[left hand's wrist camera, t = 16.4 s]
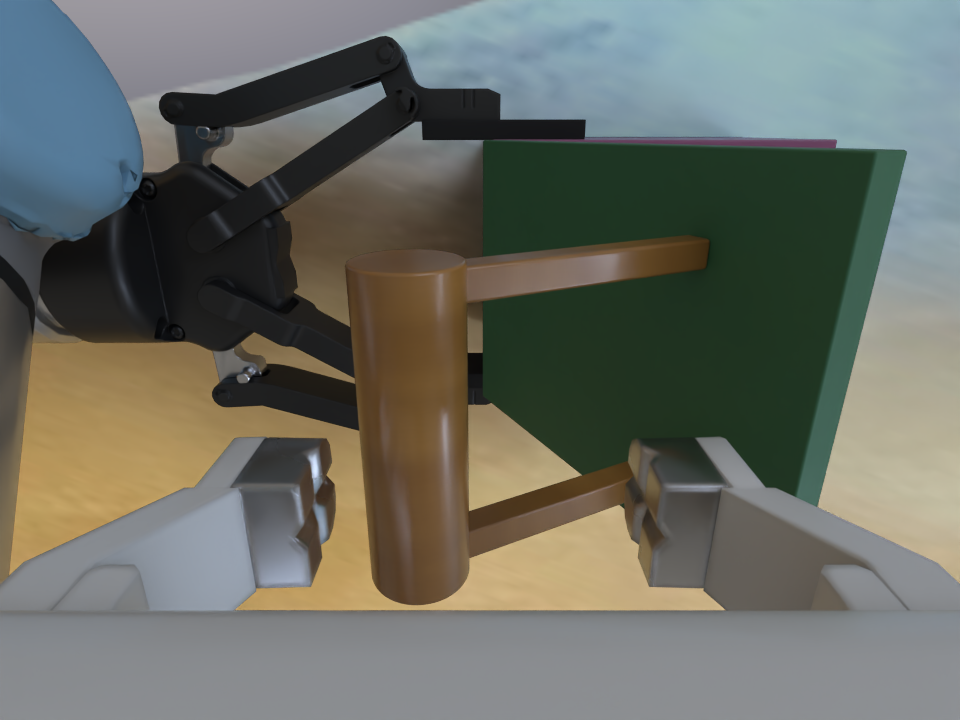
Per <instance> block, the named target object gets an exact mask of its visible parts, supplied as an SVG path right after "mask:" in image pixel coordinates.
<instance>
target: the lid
mask: <svg viewBox="0 0 960 720" xmlns="http://www.w3.org/2000/svg"><path fill="white" fill-rule="evenodd" d="M906 155H907V151H905V150H885V149H845V148H805V147H765V146H724V145H684V144H644V143H604V142H564V141H524V140H484V141H483V257H477V258H468V259H465V258H464V257H462V256H460V255H457V254H454V253H451V252H446V251H438V250H426V249H399V250H385V251H377V252H371V253H366V254H362V255H359V256H356V257H353V258H351V259H349V260H348V261H347V262H346V265H345V270H346V282H347V293H348V305H349V316H350V328H351V340H352V351H353V363H354V374H355V386H356V397H357V409H358V421H359V432H360V444H361V455H362V467H363V478H364V490H365V502H366V513H367V525H368V536H369V548H370V560H371V571H372V579H373V582H374V584H375V586H376V587H377V589H378V590H379V591H380V592H381V593H382V594H383V595H384V596H385V597H387V598H389V599H391V600H393V601H395V602H398V603H402V604H407V605H425V604H431V603H435V602H438V601H441V600H443V599H445V598H447V597H449V596H451V595H452V594H454V593H455V592H456V591H457V590H458V589H460V588H461V586H462V585H463V584H464V582H465V580H466V579H467V576H468V574H469V558H471V557H474V556H477V555H479V554H482V553H485V552H488V551H491V550H493V549H496V548H499V547H502V546H505V545H508V544H510V543H513V542H516V541H519V540H522V539H524V538H527V537H530V536H533V535H536V534H538V533H541V532H544V531H547V530H550V529H552V528H555V527H558V526H561V525H564V524H566V523H569V522H572V521H575V520H578V519H580V518H583V517H586V516H589V515H592V514H594V513H597V512H600V511H603V510H606V509H608V508H611V507H614V506H617V505H620V506H622V507H623V508H624V509H625V507H624V498H625V485H626V483H627V482H628V481H629V480H630V479H631V478H632V477H633V476H634V475H633V472H632V470H631V468H630V465H629V463H628V457H629V449H630V445H631V442H632V440H633V439H640V438H682V437H694V438H699V437H722V438H725V439H726V440H727V441H728V442H729V443H730V445H731V446H732V447H733V448H734V449H735V451H736V452H737V453H738V454H739V456H740V457H741V458H742V459H743V460H744V462H745V463H746V464H747V465H748V467H749V468H750V469H751V470H752V471H753V473H754V474H755V475H756V476H757V478H758V479H759V480H760V481H761V482H762V484H763V485H764V486H765V487H766V488H777V489H779V490H781V491H783V492H786V493H788V494H790V495H792V496H794V497H796V498H799V499H801V500H803V501H805V502H807V503H809V504H811V505H814V506H816V507H817V506H818V502H819V498H820V494H821V490H822V486H823V482H824V478H825V474H826V470H827V466H828V462H829V458H830V454H831V450H832V446H833V443H834V439H835V435H836V431H837V427H838V423H839V419H840V415H841V411H842V407H843V403H844V399H845V395H846V391H847V387H848V383H849V379H850V375H851V372H852V368H853V364H854V360H855V356H856V352H857V348H858V344H859V340H860V336H861V332H862V328H863V324H864V320H865V316H866V312H867V308H868V305H869V301H870V297H871V293H872V289H873V285H874V281H875V277H876V273H877V269H878V265H879V261H880V257H881V253H882V249H883V245H884V241H885V237H886V234H887V230H888V226H889V222H890V218H891V214H892V210H893V206H894V202H895V198H896V194H897V190H898V186H899V182H900V178H901V174H902V170H903V167H904V163H905V159H906ZM481 301H483V396H484V397H485V398H486V399H488V400H489V401H490V402H491V403H493V404H494V405H495V406H496V407H498V408H499V409H500V410H501V411H503V412H504V413H505V414H506V415H508V416H509V417H510V418H511V419H513V420H514V421H515V422H516V423H518V424H519V425H520V426H521V427H523V428H524V429H525V430H526V431H528V432H529V433H530V434H531V435H533V436H534V437H535V438H536V439H538V440H539V441H540V442H541V443H543V444H544V445H545V446H546V447H548V448H549V449H550V450H551V451H553V452H554V453H555V454H556V455H558V456H559V457H560V458H561V459H563V460H564V461H565V462H566V463H568V464H569V465H570V466H571V467H573V468H574V469H575V470H576V471H578V472H579V473H580V474H581V475H582V476H579V477H576V478H573V479H569V480H566V481H563V482H560V483H557V484H554V485H551V486H547V487H544V488H541V489H538V490H535V491H532V492H528V493H525V494H522V495H519V496H516V497H513V498H510V499H506V500H503V501H500V502H497V503H494V504H491V505H488V506H484V507H481V508H478V509H475V510H472V511H469V465H468V352H467V303H474V302H481Z"/></svg>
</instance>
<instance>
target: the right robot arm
mask: <svg viewBox="0 0 960 720" xmlns="http://www.w3.org/2000/svg"><path fill="white" fill-rule="evenodd" d="M379 82H381V83H382V85H383V88H384V90H385V93H386V96H387V97H385V98H384V99H382V100H381V101H379V102H378V103H376V104H375V105H373V106H372V107H371V108H369V109H368V110H366V111H365V112H363V113H362V114H360V115H359V116H357V117H356V118H354V119H353V120H351V121H350V122H348V123H347V124H345V125H344V126H342V127H341V128H339V129H338V130H336V131H335V132H333V133H332V134H331V135H329V136H328V137H326V138H325V139H323V140H322V141H320V142H319V143H317V144H316V145H314V146H313V147H311V148H310V149H308V150H307V151H305V152H304V153H302V154H301V155H299V156H298V157H296V158H295V159H293V160H292V161H291V162H289V163H288V164H286V165H285V166H283V167H282V168H280V169H279V170H277V171H276V172H274V173H273V174H271V175H269V176H267V177H265V178H263V179H262V180H260V181H258V182H257V183H255V184H254V185H252V186H251V187H247V186H246V185H244V184H243V183H241V182H240V181H238V180H237V179H235V178H234V177H232V176H231V175H230V174H228V173H227V172H225V171H224V170H222V169H221V168H219V167H218V166H216V165H215V164H213V163H212V155H213V153H214V151H215V150H216V149H218V148H220V147H224V146H227V145H229V144H230V143H231V142H232V140H233V136H234V131H233V127H245V126H252V125H255V124H259V123H262V122H265V121H268V120H271V119H274V118H277V117H280V116H283V115H286V114H289V113H292V112H294V111H297V110H300V109H303V108H306V107H309V106H312V105H315V104H318V103H321V102H324V101H326V100H329V99H332V98H335V97H338V96H341V95H344V94H347V93H350V92H353V91H356V90H358V89H361V88H364V87H367V86H370V85H373V84H376V83H379ZM159 109H160V112H161V115H162V116H163V118H164V119H165V120H166V121H168V122H169V123H170V124H174V127H175V135H176V142H177V150H178V158H179V163H177V164H175V165H174V166H172V167H171V168H169V169H168V170H166V171H164V172H158V173H143V163H144V162H143V150H142V145H141V140H140V135H139V132H138V129H137V126H136V123H135V120H134V118H133V115H132V112H131V109H130V107H129V105H128V103H127V101H126V99H125V97H124V95H123V93H122V91H121V89H120V88H119V86H118V84H117V82H116V80H115V79H114V77H113V76H112V74H111V72H110V71H109V69H108V68H107V66H106V65H105V63H104V62H103V60H102V59H101V57H100V56H99V54H98V53H97V52H96V50H95V49H94V48H93V46H92V45H91V43H90V42H89V41H88V39H87V38H86V37H85V36H84V35H83V34H82V32H81V31H80V30H79V29H78V28H77V26H76V25H75V24H74V23H73V22H72V21H71V20H70V18H69V17H68V16H67V15H66V14H64V13H63V12H62V11H61V10H60V9H59V8H58V6H57V5H56V4H55V3H54V2H53V1H52V0H0V584H1V583H2V582H3V581H4V580H5V579H6V578H7V577H8V576H9V571H10V561H11V551H12V541H13V531H14V521H15V511H16V501H17V491H18V481H19V471H20V461H21V451H22V441H23V431H24V421H25V411H26V401H27V391H28V381H29V371H30V361H31V351H32V343H77V342H80V341H83V340H84V341H87V342H93V343H164V342H190V343H194V344H197V345H200V346H202V347H204V348H206V349H208V350H211V351H213V354H214V359H215V363H216V367H217V371H218V376H219V380H220V383H219V384H218V385H217V386H216V387H215V388H214V389H213V391H212V397H213V399H214V401H215V402H216V403H217V404H218V405H220V406H222V407H242V406H262V405H263V406H266V407H270V408H274V409H278V410H282V411H286V412H289V413H293V414H297V415H301V416H305V417H309V418H313V419H316V420H320V421H324V422H328V423H332V424H336V425H339V426H343V427H347V428H351V429H355V430H359V421H358V409H357V397H356V386H355V384H354V383H350V382H346V381H342V380H339V379H335V378H331V377H328V376H324V375H320V374H317V373H313V372H309V371H305V370H302V369H298V368H294V367H290V366H286V365H279V364H266V360H265V358H264V357H263V356H261V355H253V354H250V353H247V352H246V351H245V350H244V349H243V348H242V346H241V344H240V343H241V342H242V341H243V340H245V339H246V338H247V337H249V336H250V335H251V334H252V333H254V332H256V333H257V334H259V335H261V336H263V337H265V338H267V339H269V340H271V341H273V342H275V343H277V344H279V345H282V346H286V347H287V346H292V347H295V348H297V349H299V350H301V351H303V352H305V353H307V354H309V355H311V356H313V357H315V358H317V359H318V360H320V361H322V362H324V363H326V364H328V365H330V366H332V367H334V368H336V369H338V370H340V371H342V372H344V373H346V374H347V375H349V376H351V377H353V378H355V374H354V363H353V351H352V340H351V328H350V327H349V326H347V325H345V324H343V323H341V322H339V321H338V320H336V319H334V318H332V317H330V316H328V315H326V314H324V313H323V312H321V311H319V310H318V309H317V308H316V307H315V305H314V304H313V303H311V302H310V301H308V300H306V299H304V298H303V297H301V296H299V295H297V294H295V293H294V290H295V289H296V288H297V287H298V285H297V277H296V271H295V268H294V265H293V263H292V260H291V258H290V248H291V241H292V234H291V226H290V221H286V220H285V218H284V216H283V214H282V213H281V212H280V211H282V210H283V209H285V208H286V207H288V206H289V205H291V204H292V203H294V202H295V201H297V200H298V199H300V198H301V197H303V196H304V195H305V194H306V193H308V192H309V191H311V190H312V189H314V188H315V187H317V186H318V185H320V184H322V183H323V182H325V181H326V180H328V179H329V178H331V177H332V176H334V175H335V174H337V173H338V172H340V171H341V170H343V169H344V168H346V167H347V166H349V165H350V164H352V163H353V162H355V161H356V160H358V159H359V158H361V157H363V156H364V155H366V154H367V153H369V152H370V151H372V150H373V149H375V148H376V147H378V146H379V145H381V144H382V143H384V142H385V141H387V140H388V139H390V138H391V137H393V136H394V135H396V134H397V133H399V132H400V131H402V130H404V129H405V128H407V127H408V126H410V125H411V124H413V123H414V122H422V137H423V140H494V139H585V123H586V120H500V94H499V93H497V92H494V91H492V90H490V89H428V88H424V87H421V86H420V85H418V83H417V82H416V80H415V78H414V76H413V73H412V71H411V68H410V65H409V63H408V60H407V55H406V53H405V52H404V50H403V49H402V48H401V47H400V45H399V44H398V43H397V42H396V41H395V40H394V39H393V38H390V37H387V36H382V37H378V38H375V39H372V40H369V41H366V42H363V43H361V44H358V45H355V46H352V47H349V48H346V49H344V50H341V51H338V52H335V53H332V54H329V55H326V56H324V57H321V58H318V59H315V60H312V61H309V62H307V63H304V64H301V65H298V66H295V67H292V68H290V69H287V70H284V71H281V72H278V73H275V74H273V75H270V76H267V77H264V78H261V79H258V80H255V81H253V82H250V83H247V84H244V85H241V86H238V87H236V88H233V89H230V90H227V91H224V92H221V93H219V94H216V95H215V94H197V93H180V92H170V93H166V94H165V95H163V96H162V97H161V99H160V101H159ZM490 403H491V402H490V401H489V400H488V399H486V398H485V397H484V396H483V353H468V405H474V404H475V405H487V404H490Z"/></svg>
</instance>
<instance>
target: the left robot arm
mask: <svg viewBox="0 0 960 720" xmlns="http://www.w3.org/2000/svg"><path fill="white" fill-rule="evenodd" d="M331 463H332V458H331V450H330V444H329V442H328V441H327V439H326V438H277V437H269V438H267V437H240V438H235V439H234V440H233V441H232V442H231V443H230V444H229V446H228V447H227V448H226V449H225V451H224V452H223V453H222V454H221V455H220V457H219V458H218V459H217V460H216V462H215V463H214V464H213V465H212V466H211V468H210V469H209V470H208V471H207V473H206V474H205V475H204V476H203V477H202V479H201V480H200V481H199V482H198V484H197V485H196V486H195V487H194V488H183V489H181V490H179V491H177V492H174V493H172V494H170V495H168V496H166V497H164V498H161V499H159V500H157V501H155V502H153V503H151V504H148V505H146V506H144V507H142V508H140V509H138V510H136V511H133V512H131V513H129V514H127V515H125V516H123V517H120V518H118V519H116V520H114V521H112V522H110V523H107V524H105V525H103V526H101V527H99V528H97V529H94V530H92V531H90V532H88V533H86V534H84V535H81V536H79V537H77V538H75V539H73V540H71V541H69V542H66V543H64V544H62V545H60V546H58V547H56V548H53V549H51V550H49V551H47V552H45V553H43V554H40V555H38V556H36V557H34V558H32V559H30V560H27V561H25V562H23V563H22V564H21V565H20V566H19V567H18V568H17V569H16V570H15V571H14V572H13V573H12V574H11V575H10V576H8V577H7V578H6V579H5V580H4V581H3V582H2V583H1V584H0V720H960V584H959V583H958V582H957V581H956V580H955V579H954V578H953V577H952V576H951V575H950V574H949V573H948V572H947V571H945V570H944V569H943V568H942V567H941V566H940V565H939V564H938V563H936V562H934V561H932V560H930V559H928V558H926V557H923V556H921V555H919V554H917V553H915V552H913V551H910V550H908V549H906V548H904V547H902V546H900V545H898V544H895V543H893V542H891V541H889V540H887V539H885V538H883V537H880V536H878V535H876V534H874V533H872V532H870V531H867V530H865V529H863V528H861V527H859V526H857V525H855V524H852V523H850V522H848V521H846V520H844V519H842V518H839V517H837V516H835V515H833V514H831V513H829V512H827V511H824V510H822V509H820V508H818V507H816V506H814V505H811V504H809V503H807V502H805V501H803V500H801V499H799V498H796V497H794V496H792V495H790V494H788V493H786V492H783V491H781V490H779V489H777V488H766V487H765V486H764V485H763V484H762V482H761V481H760V480H759V479H758V478H757V476H756V475H755V474H754V473H753V471H752V470H751V469H750V468H749V467H748V465H747V464H746V463H745V462H744V460H743V459H742V458H741V457H740V456H739V454H738V453H737V452H736V451H735V449H734V448H733V447H732V446H731V445H730V443H729V442H728V441H727V440H726V439H725V438H722V437H699V438H694V437H682V438H640V439H633V440H632V442H631V445H630V449H629V457H628V463H629V465H630V468H631V470H632V472H633V475H634V476H633V477H632V478H631V479H630V480H629V481H628V482H627V483H626V485H625V498H624V507H625V519H626V524H627V529H628V532H629V535H630V537H631V539H632V540H633V541H635V542H636V543H637V544H639V552H638V559H639V562H640V564H641V567H642V569H643V572H644V575H645V577H646V580H647V582H648V585H649V587H677V588H704V591H705V592H706V593H707V594H708V595H709V596H710V597H712V598H713V599H714V600H715V601H716V602H717V603H719V604H720V605H721V606H722V607H723V608H724V609H725V610H727V611H614V610H613V611H612V610H610V611H609V610H608V611H607V610H603V611H602V610H601V611H600V610H235V609H236V608H237V607H238V606H239V605H241V604H242V603H243V602H244V601H245V600H246V599H248V598H249V597H250V596H251V595H252V594H253V593H255V592H256V588H282V587H311V585H312V583H313V580H314V577H315V575H316V572H317V570H318V567H319V564H320V562H321V559H322V552H321V544H323V543H324V542H326V541H327V540H328V539H329V537H330V535H331V532H332V529H333V524H334V518H335V511H336V495H335V485H334V483H333V482H332V481H331V480H330V479H329V478H328V477H327V476H326V475H327V472H328V470H329V468H330V465H331Z"/></svg>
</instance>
